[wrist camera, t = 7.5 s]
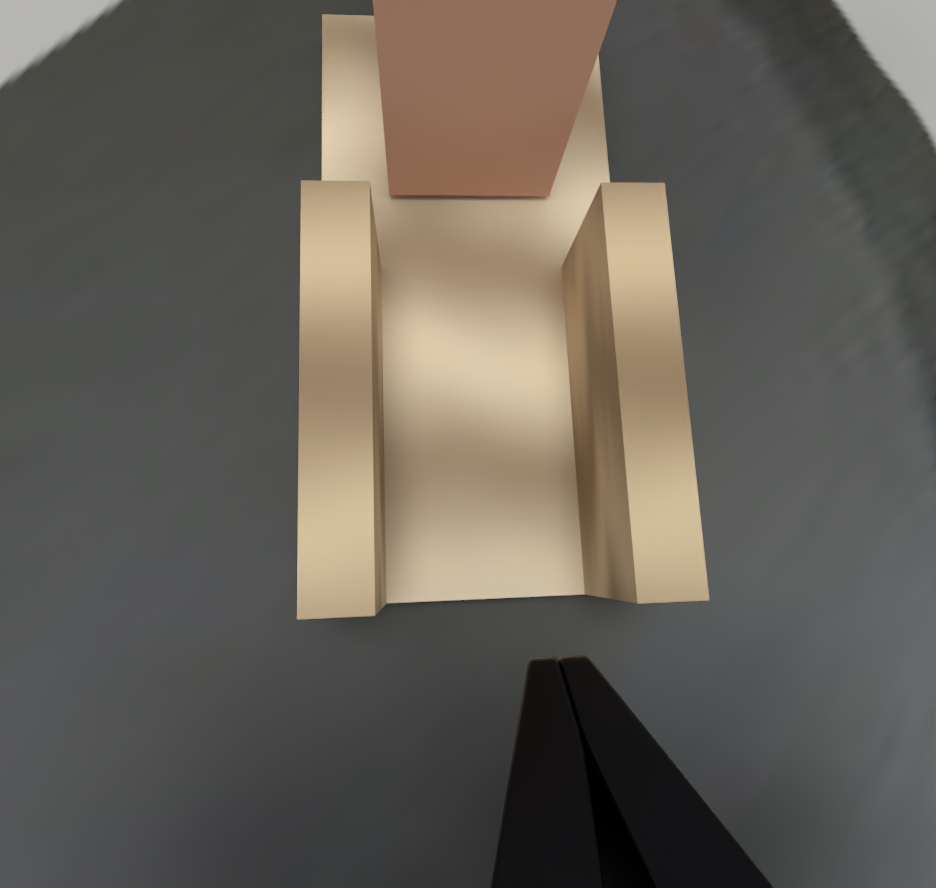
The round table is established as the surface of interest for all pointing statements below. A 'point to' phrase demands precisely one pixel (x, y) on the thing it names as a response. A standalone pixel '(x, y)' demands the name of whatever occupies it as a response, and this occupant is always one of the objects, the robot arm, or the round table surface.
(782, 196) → the round table surface
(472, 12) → the block
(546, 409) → the chute
